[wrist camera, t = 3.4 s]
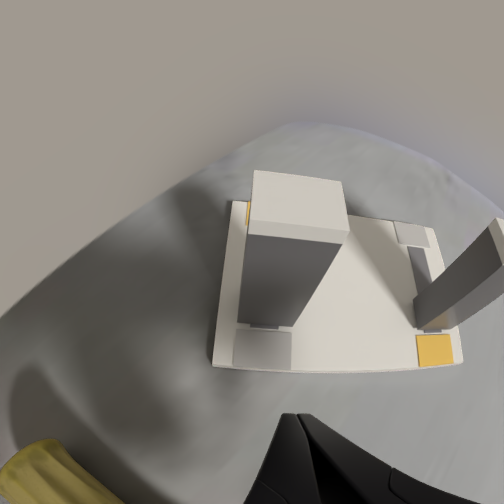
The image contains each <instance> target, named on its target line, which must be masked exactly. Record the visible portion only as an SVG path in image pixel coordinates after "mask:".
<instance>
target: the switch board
mask: <svg viewBox="0 0 504 504" xmlns="http://www.w3.org/2000/svg"><path fill="white" fill-rule="evenodd" d="M249 209H250V201H248V202H240V201H233V203H232V210H231V217H230V224H229V232H228V239H227V246H226V254H225V261H224V269H223V277H222V284H221V292H220V300H219V309H218V317H217V325H216V334H215V343H214V352H213V361H212V366H213V367H222V368H232V369H243V370H256V371H271V372H292V373H370V372H390V371H405V370H417V369H427V368H437V367H445V366H453V365H458V364H460V363H463V355H462V348H461V342H460V335H459V329H458V325H457V326H455V327H454V328H452V329H448V330H417V324H416V318H415V311H414V305H413V299H414V298H415V297H416V296H417V295H418V294H419V293H421V292H422V291H423V290H424V289H425V288H426V287H427V286H428V285H430V284H431V283H432V282H433V281H434V280H435V279H436V278H437V277H438V276H439V275H441V274H442V273H443V272H444V271H445V267H444V263H443V260H442V256H441V253H440V249H439V246H438V243H437V240H436V236H435V233H434V230H433V229H431V228H426V227H424V226H420V225H414V224H409V223H403V222H397V221H393V222H391V221H385V220H379V219H373V218H366V217H360V216H353V215H347V216H348V222H349V228H350V232H349V234H348V236H347V237H346V239H345V241H344V243H343V245H342V246H341V248H340V250H339V252H338V253H337V255H336V257H335V258H334V260H333V262H332V264H331V265H330V267H329V269H328V270H327V272H326V274H325V275H324V277H323V279H322V280H321V282H320V284H319V285H318V287H317V289H316V290H315V292H314V294H313V295H312V297H311V299H310V300H309V302H308V303H307V305H306V307H305V308H304V310H303V311H302V313H301V315H300V316H299V318H298V319H297V321H296V322H295V324H294V325H293V327H285V326H272V325H259V324H248V323H237V316H238V305H239V294H240V284H241V276H242V267H243V259H244V250H245V242H246V234H247V225H248V217H249Z"/></svg>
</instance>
